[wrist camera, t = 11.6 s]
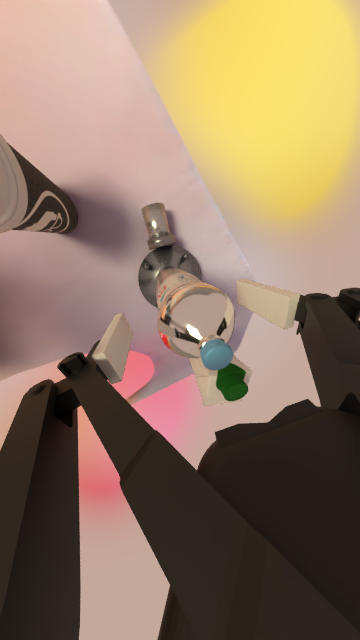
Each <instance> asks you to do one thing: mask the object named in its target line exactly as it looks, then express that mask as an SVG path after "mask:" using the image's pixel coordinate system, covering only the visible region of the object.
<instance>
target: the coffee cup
mask: <svg viewBox="0 0 360 640" xmlns="http://www.w3.org/2000/svg"><path fill="white" fill-rule="evenodd" d="M77 222H78V215H77V210H76V208H75V206H74V204H73V202H72V201H71V199H70V198H69V197H68V196H67V195H66V194H65V193H64V192H63V191H62V190H61V189H60V188H58V187H57V186H56V185H55V184H54V183H53V182H52V181H50V180H49V179H48V178H47V177H46V176H45V175H43V174H42V173H41V172H40V171H39V170H38V169H37V168H36V167H34V166H33V165H32V164H31V163H30V162H29V161H28V160H26V159H25V158H24V157H23V156H22V155H21V154H20V153H18V152H17V151H16V150H15V149H14V148H13V147H12V146H10V145H9V144H8V143H7V142H6V141H5V139H4V138H3V136H2V135H1V134H0V233H3V232H6V231H9V230H23V231H37V232H50V233H69V232H71V231H73V230H74V229H75V227H76V225H77Z"/></svg>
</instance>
